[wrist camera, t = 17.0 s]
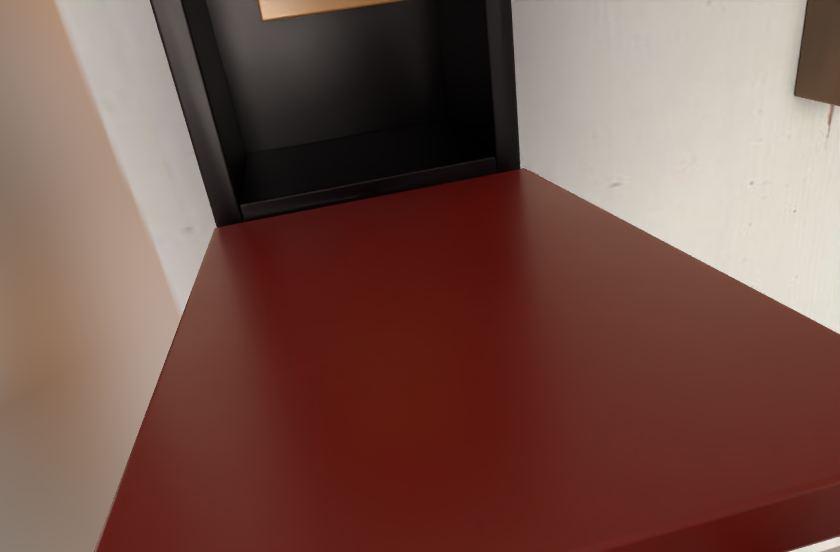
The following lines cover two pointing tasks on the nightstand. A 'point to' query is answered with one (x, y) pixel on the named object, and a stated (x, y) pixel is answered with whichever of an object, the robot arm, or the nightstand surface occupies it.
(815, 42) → the wooden stand
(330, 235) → the lid
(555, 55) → the nightstand surface
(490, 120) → the black storage box
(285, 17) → the block
